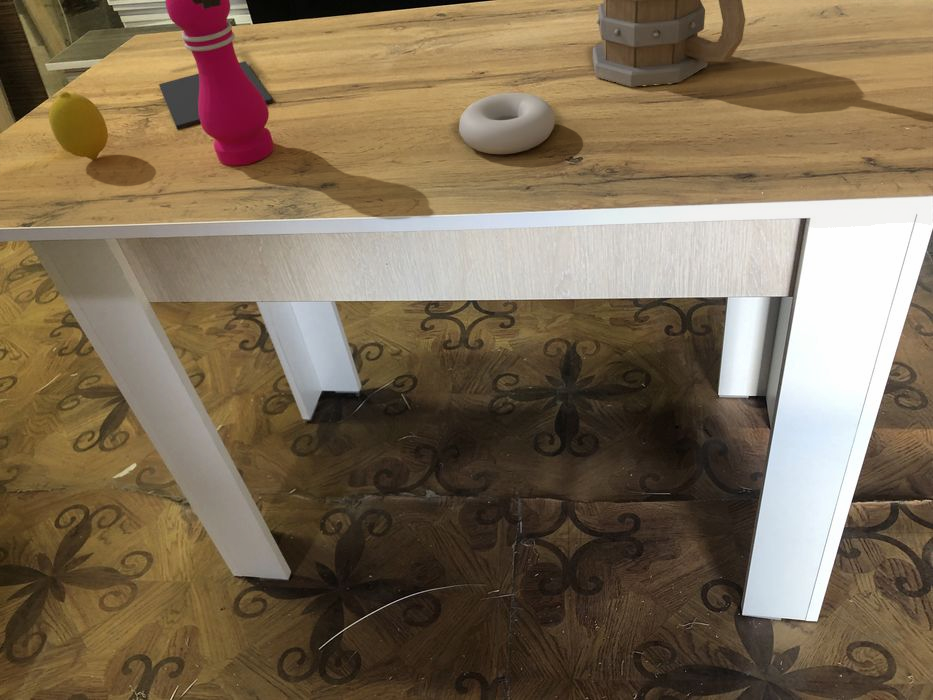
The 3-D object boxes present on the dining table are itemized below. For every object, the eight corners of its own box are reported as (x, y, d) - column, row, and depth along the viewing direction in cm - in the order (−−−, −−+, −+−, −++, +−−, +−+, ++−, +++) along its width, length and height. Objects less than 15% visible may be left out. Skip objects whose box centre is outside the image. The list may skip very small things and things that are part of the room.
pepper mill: (202, 156, 86) (131, -36, 73) (257, 132, 90) (199, -56, 77) (234, 175, 82) (165, -26, 69) (291, 148, 85) (235, -48, 72)
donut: (443, 154, 80) (530, 166, 76) (438, 123, 78) (527, 133, 74) (488, 113, 87) (571, 122, 82) (485, 83, 84) (569, 90, 80)
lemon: (122, 144, 92) (93, 78, 86) (114, 165, 87) (83, 97, 82) (75, 152, 91) (43, 87, 86) (64, 174, 87) (30, 106, 82)
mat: (177, 129, 93) (175, 125, 93) (160, 87, 105) (158, 84, 104) (273, 102, 96) (272, 98, 96) (246, 64, 107) (245, 60, 107)
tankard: (571, 71, 92) (568, -67, 83) (639, 37, 98) (644, -96, 88) (715, 112, 80) (730, -44, 70) (783, 71, 86) (806, -80, 76)
